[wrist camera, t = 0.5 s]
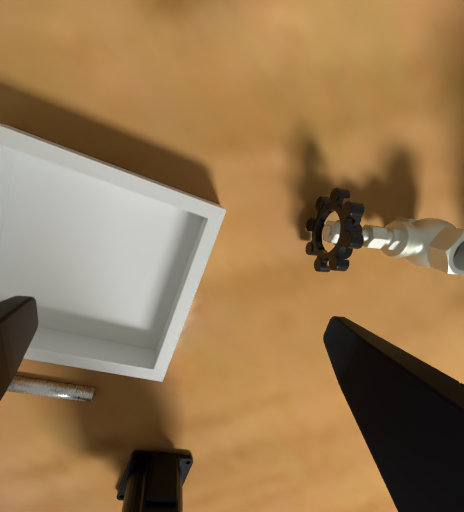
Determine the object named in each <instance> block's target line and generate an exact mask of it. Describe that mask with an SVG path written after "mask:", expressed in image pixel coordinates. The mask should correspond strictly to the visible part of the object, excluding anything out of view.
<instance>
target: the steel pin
mask: <svg viewBox="0 0 464 512" xmlns="http://www.w3.org/2000/svg"><path fill="white" fill-rule="evenodd" d="M95 389H96V388H93V387H86V386H80V385H73V384H66V383H60V382H53V381H46V380H40V379H33V378H26V377H20V376H14V378H13V380H12V382H11V384H10V386H9V387H8V389H7V391H9V392H16V393H24V394H31V395H39V396H46V397H53V398H61V399H68V400H76V401H83V402H90V403H91V401H92V398H93V395H94V392H95Z"/></svg>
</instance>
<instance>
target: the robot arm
mask: <svg viewBox="0 0 464 512" xmlns="http://www.w3.org/2000/svg"><path fill="white" fill-rule="evenodd" d="M37 328H38V312H37V303H36V299H35V298H34V297H32V296H13V297H11V298H8V299H6V300H3V301H1V302H0V400H1V399H2V397H3V396H4V394H5V392H6V391H7V389H8V387H9V386H10V384H11V382H12V380H13V378H14V376H15V374H16V372H17V370H18V368H19V366H20V364H21V362H22V360H23V358H24V356H25V354H26V352H27V349H28V347H29V345H30V343H31V341H32V339H33V337H34V335H35V333H36V331H37ZM323 340H324V344H325V347H326V350H327V353H328V355H329V358H330V361H331V364H332V367H333V369H334V372H335V375H336V378H337V380H338V383H339V385H340V388H341V390H342V392H343V394H344V396H345V398H346V401H347V403H348V405H349V407H350V409H351V411H352V414H353V416H354V418H355V420H356V422H357V424H358V426H359V429H360V431H361V433H362V435H363V437H364V439H365V441H366V444H367V446H368V448H369V450H370V452H371V454H372V456H373V459H374V461H375V463H376V465H377V467H378V469H379V472H380V474H381V476H382V478H383V480H384V482H385V484H386V487H387V489H388V491H389V493H390V495H391V497H392V499H393V502H394V504H395V506H396V508H397V510H398V512H464V384H462V383H459V382H458V381H457V380H455V379H453V378H451V377H450V376H448V375H446V374H444V373H443V372H441V371H439V370H437V369H436V368H434V367H432V366H430V365H428V364H427V363H425V362H423V361H421V360H420V359H418V358H416V357H414V356H413V355H411V354H409V353H407V352H405V351H404V350H402V349H400V348H398V347H397V346H395V345H393V344H391V343H389V342H388V341H386V340H384V339H382V338H381V337H379V336H377V335H375V334H374V333H372V332H370V331H368V330H366V329H365V328H363V327H361V326H359V325H358V324H356V323H354V322H352V321H351V320H349V319H347V318H345V317H337V316H334V317H332V318H331V319H330V321H329V323H328V326H327V328H326V331H325V333H324V337H323ZM192 463H193V458H192V456H190V455H179V454H169V453H158V452H147V451H134V452H133V453H132V455H131V457H130V460H129V463H128V466H127V468H126V471H125V474H124V476H123V479H122V482H121V484H120V487H119V490H118V493H117V499H118V500H124V501H123V507H122V512H183V500H182V486H183V484H184V481H185V479H186V477H187V475H188V472H189V470H190V468H191V466H192Z"/></svg>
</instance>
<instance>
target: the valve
mask: <svg viewBox="0 0 464 512" xmlns="http://www.w3.org/2000/svg"><path fill="white" fill-rule="evenodd" d="M344 198H350V192H349V190H348V189H342V188H334V189H333V190H332V192H331V195H330V198H329V197H322V196H320V197H319V198H318V199H317V201H316V209H317V210H318V215H317V217H316V219H313V218H310V219H308V221H307V225H306V228H307V230H308V231H312V241H311V242H308V243H307V245H306V253H307V254H308V255H315V256H317V258H316V260H315V262H314V268H315V270H316V271H318V272H329V271H330V270H334V271H346V270H347V269H348V267H349V260H345V259H347V258H349V257H350V256H351V254H352V251H353V249H359V248H361V247H362V246H365V247H370V248H380V249H382V251H383V252H384V253H385V254H386V255H387V256H390V257H399V258H403V257H405V258H406V259H407V260H408V261H410V262H411V263H413V264H415V265H418V266H421V267H428V268H435V269H438V270H440V271H443V272H446V273H449V274H456V275H464V229H460V228H456V227H455V226H453V225H452V224H451V223H449V222H447V221H444V220H441V219H435V218H425V219H420V220H416V219H410V218H403V217H396V218H395V219H394V221H393V222H391V223H389V224H388V225H386V226H385V228H383V227H379V226H372V225H364V226H363V227H361V225H360V222H361V217H362V215H363V213H364V205H363V204H362V203H358V202H351V201H348V202H346V203H345V204H343V199H344ZM333 211H336V212H337V214H338V216H339V219H340V220H338V221H327V223H326V224H324V222H325V220H326V218H327V217H328V215H329V214H330V213H332V212H333ZM322 234H323V240H324V241H326V242H329V243H333V244H334V245H335V247H334V248H333V249H332V250H331V251H330V252H327V251H326V250H325V249H324V247H323V244H322ZM328 261H329V266H328V265H327V262H328Z"/></svg>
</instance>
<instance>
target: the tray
mask: <svg viewBox="0 0 464 512" xmlns="http://www.w3.org/2000/svg"><path fill="white" fill-rule="evenodd" d="M225 213H226V209H225V208H223V207H222V206H221V205H219V204H216V203H214V202H211V201H208V200H206V199H203V198H200V197H198V196H195V195H192V194H190V193H187V192H184V191H182V190H179V189H176V188H174V187H171V186H168V185H166V184H163V183H160V182H158V181H155V180H152V179H150V178H147V177H144V176H142V175H139V174H136V173H134V172H131V171H128V170H126V169H123V168H120V167H118V166H115V165H112V164H110V163H107V162H105V161H102V160H99V159H97V158H94V157H91V156H89V155H86V154H83V153H81V152H78V151H75V150H73V149H70V148H67V147H65V146H62V145H59V144H57V143H54V142H51V141H49V140H46V139H43V138H41V137H38V136H35V135H33V134H30V133H27V132H25V131H22V130H19V129H17V128H14V127H11V126H8V125H5V124H1V123H0V302H1V301H3V300H6V299H8V298H11V297H13V296H32V297H34V298H35V299H36V303H37V312H38V328H37V331H36V333H35V335H34V337H33V339H32V341H31V343H30V345H29V347H28V349H27V352H26V354H25V356H24V358H23V359H29V360H35V361H41V362H47V363H53V364H59V365H65V366H71V367H77V368H83V369H89V370H95V371H101V372H107V373H113V374H119V375H125V376H131V377H137V378H143V379H149V380H155V381H160V382H162V381H163V379H164V376H165V373H166V371H167V368H168V365H169V363H170V360H171V357H172V355H173V352H174V349H175V347H176V344H177V341H178V339H179V336H180V333H181V331H182V328H183V325H184V323H185V320H186V317H187V315H188V312H189V309H190V306H191V304H192V301H193V298H194V296H195V293H196V290H197V288H198V285H199V282H200V280H201V277H202V274H203V272H204V269H205V266H206V264H207V261H208V258H209V256H210V253H211V250H212V248H213V245H214V242H215V240H216V237H217V234H218V232H219V229H220V226H221V224H222V221H223V218H224V216H225Z"/></svg>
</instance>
